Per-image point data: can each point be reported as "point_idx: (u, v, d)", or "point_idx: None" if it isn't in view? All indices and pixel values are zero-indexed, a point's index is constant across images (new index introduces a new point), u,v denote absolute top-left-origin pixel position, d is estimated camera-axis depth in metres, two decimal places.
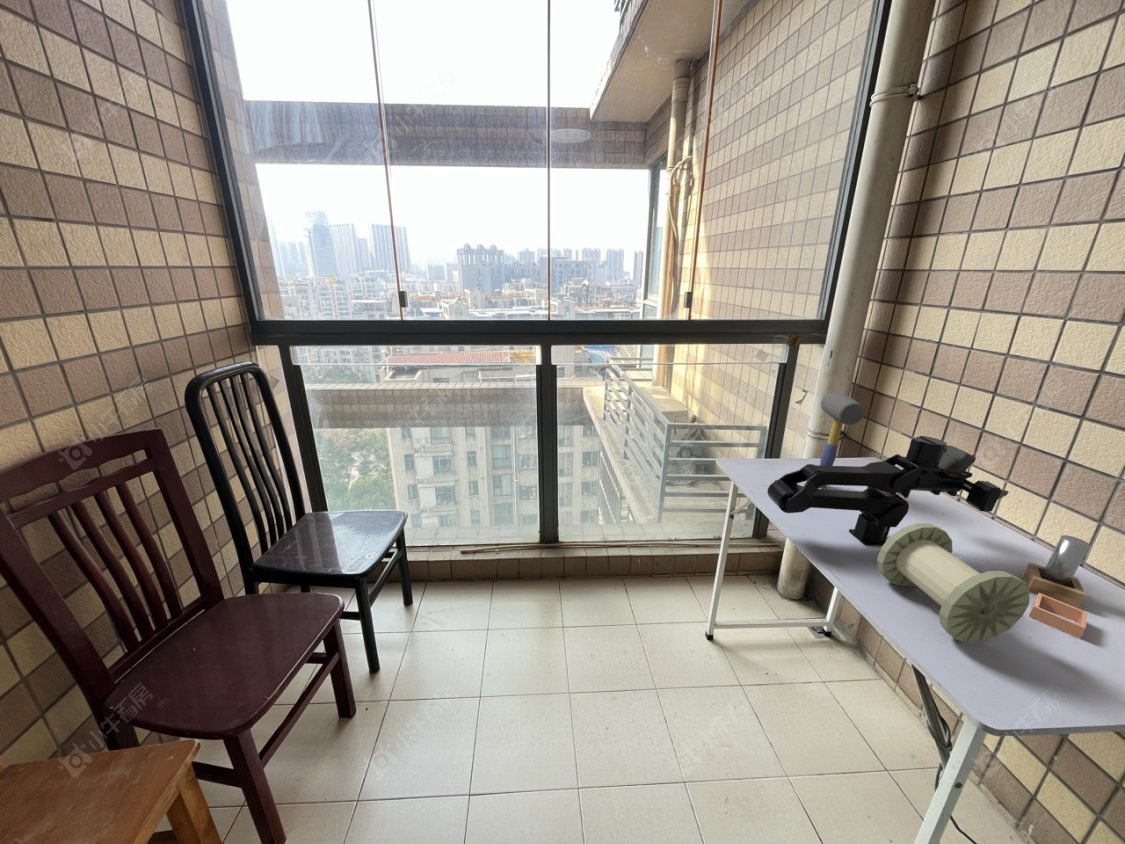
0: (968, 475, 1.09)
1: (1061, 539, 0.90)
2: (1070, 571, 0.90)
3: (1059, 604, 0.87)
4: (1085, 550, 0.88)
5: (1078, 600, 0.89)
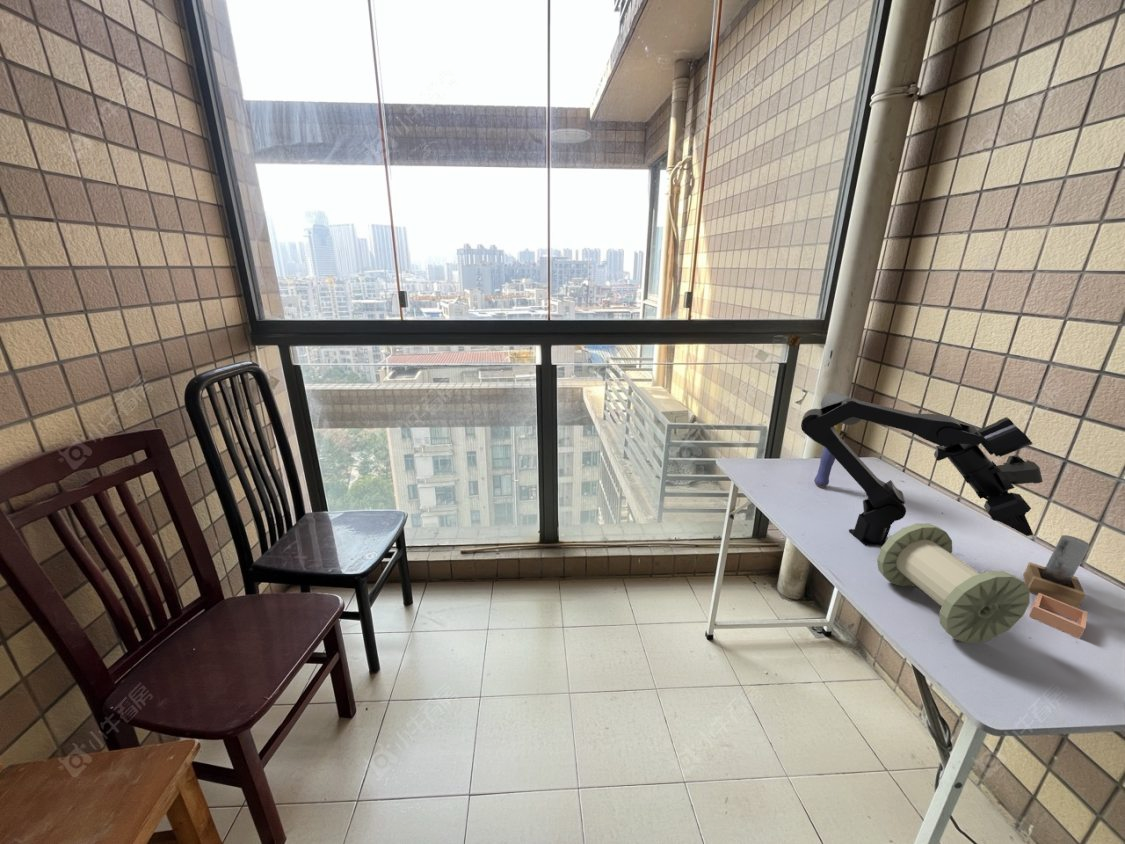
0: None
1: (1061, 539, 0.90)
2: (1070, 571, 0.90)
3: (1059, 604, 0.87)
4: (1085, 550, 0.88)
5: (1078, 600, 0.89)
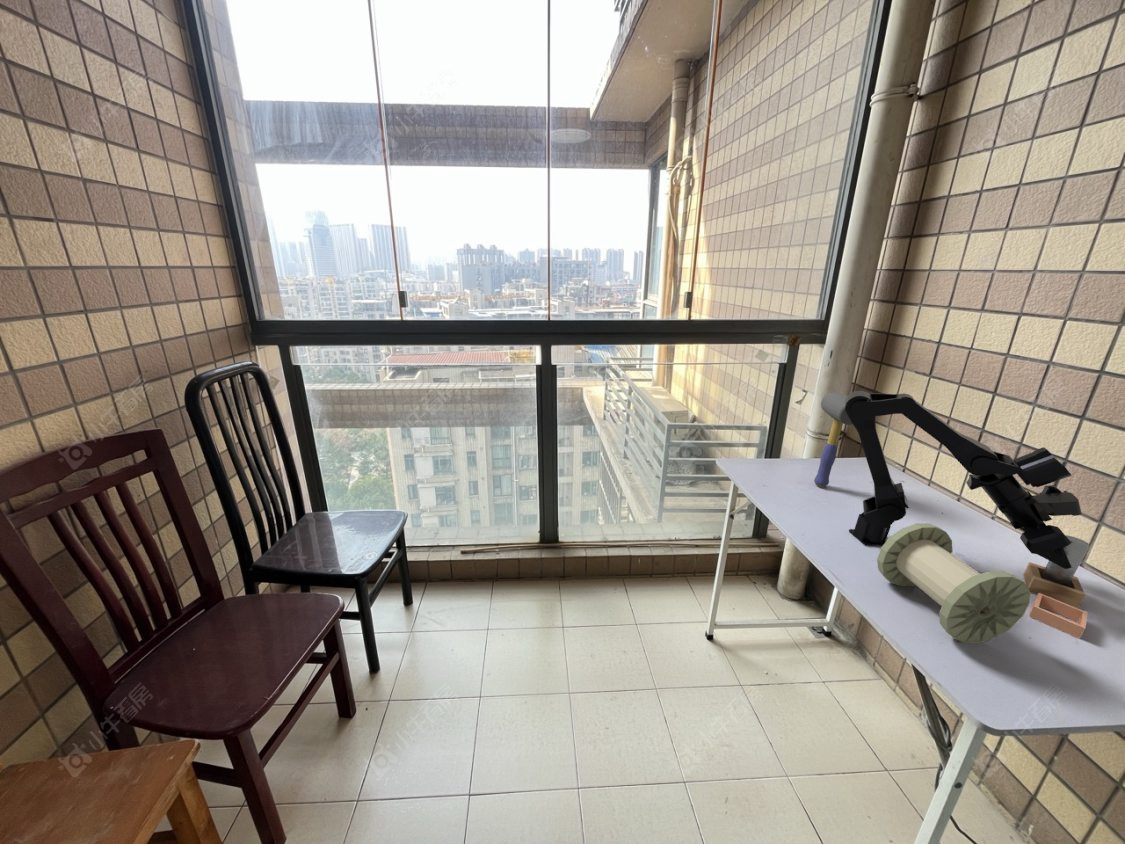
0: None
1: None
2: (1070, 571, 0.90)
3: (1059, 604, 0.87)
4: (1085, 550, 0.88)
5: (1078, 600, 0.89)
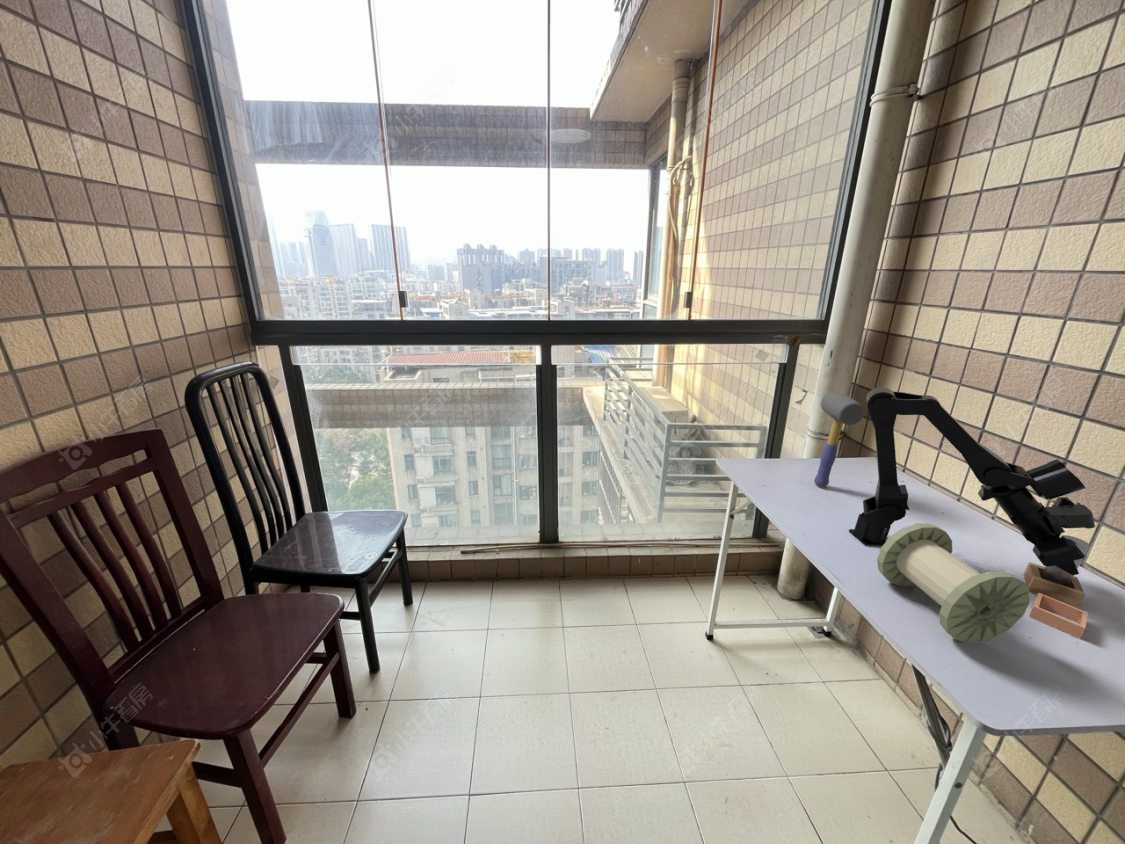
0: None
1: None
2: None
3: (1059, 604, 0.87)
4: (1085, 550, 0.88)
5: (1078, 600, 0.89)
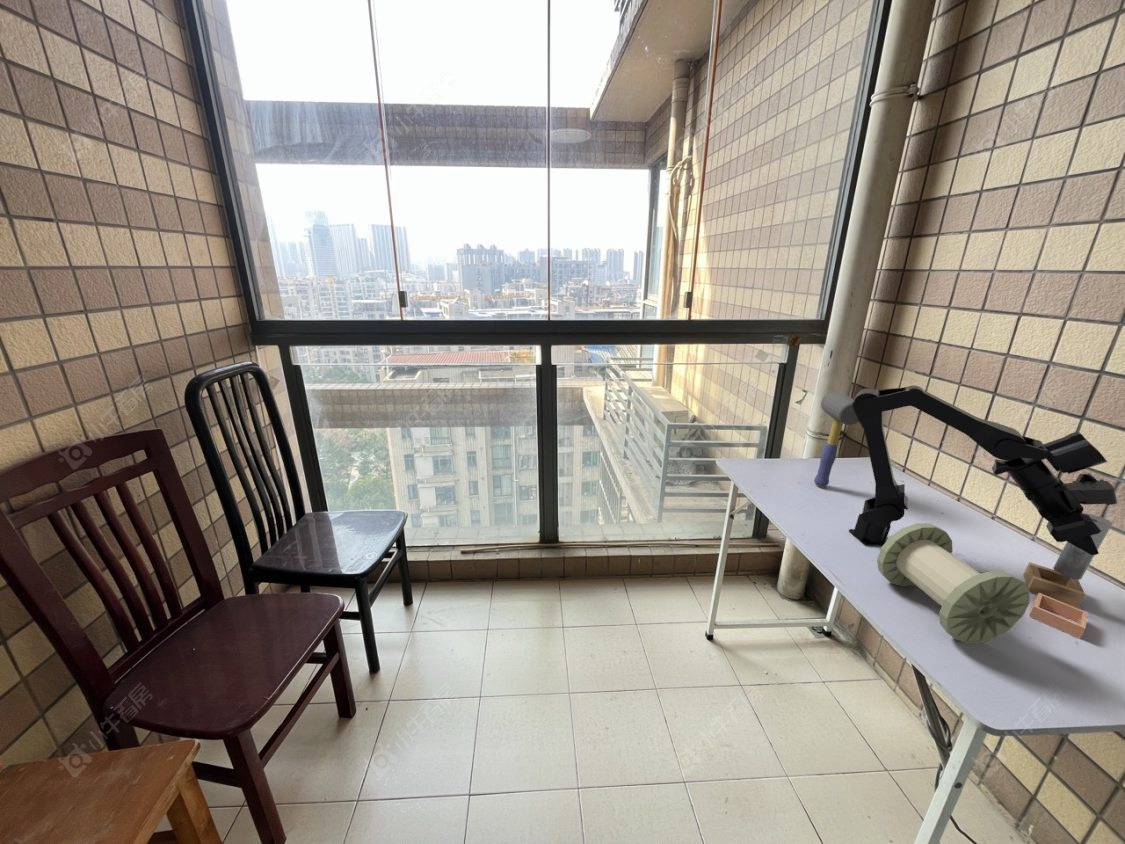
0: None
1: None
2: None
3: (1059, 604, 0.87)
4: (1106, 528, 0.83)
5: (1078, 600, 0.89)
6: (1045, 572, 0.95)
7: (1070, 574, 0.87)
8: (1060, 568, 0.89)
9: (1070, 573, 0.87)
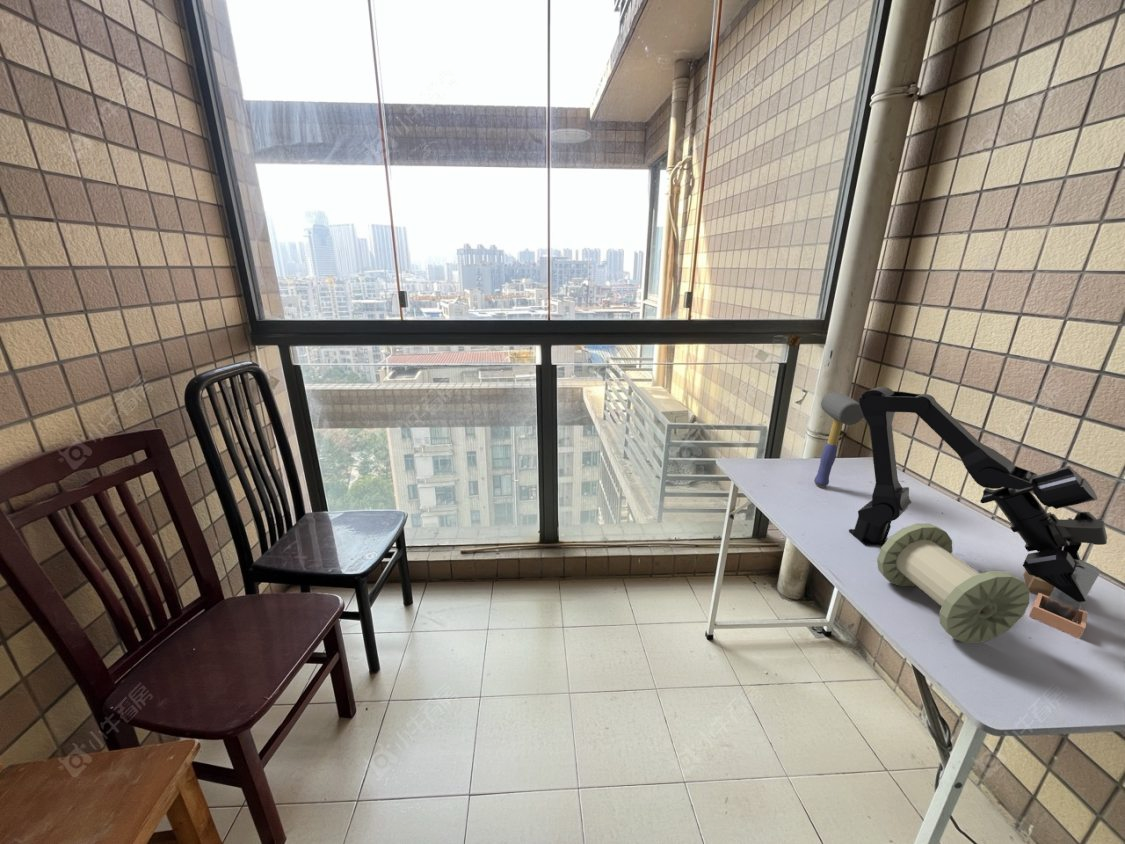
0: None
1: None
2: None
3: None
4: (1091, 576, 0.80)
5: None
6: None
7: None
8: None
9: None
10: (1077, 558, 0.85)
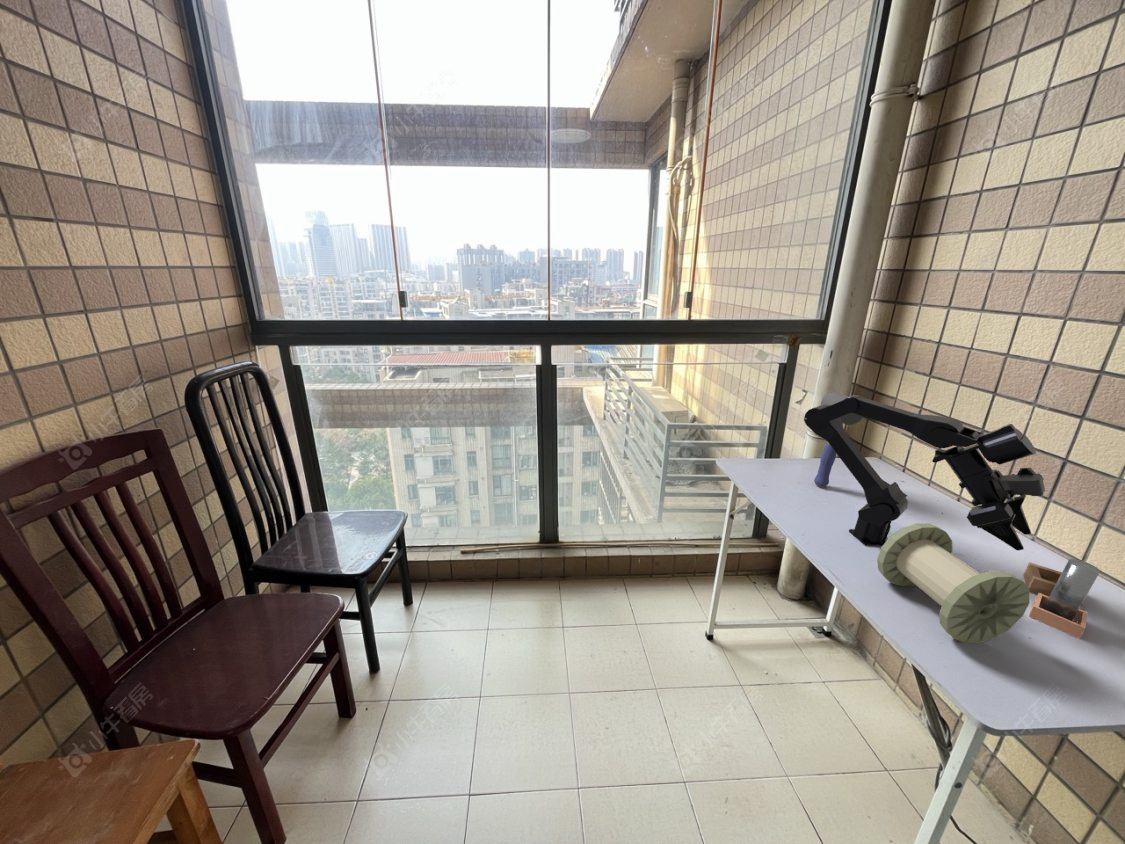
0: (1024, 530, 0.90)
1: (1067, 562, 0.83)
2: (1073, 598, 0.82)
3: None
4: (1091, 576, 0.80)
5: None
6: (1045, 572, 0.95)
7: None
8: None
9: None
10: (1020, 512, 0.91)
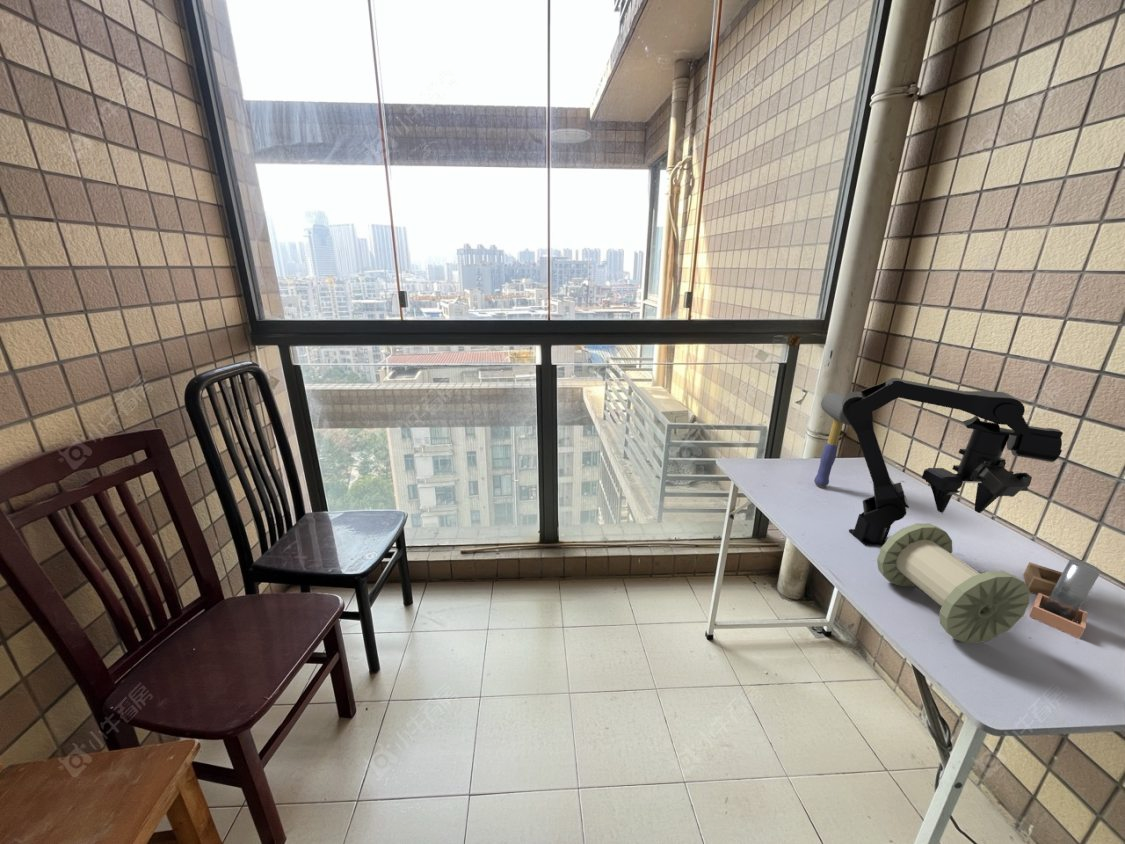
0: (977, 508, 0.99)
1: (1068, 562, 0.83)
2: (1074, 598, 0.82)
3: None
4: (1092, 576, 0.80)
5: None
6: (1045, 572, 0.95)
7: None
8: None
9: None
10: (990, 497, 0.97)
